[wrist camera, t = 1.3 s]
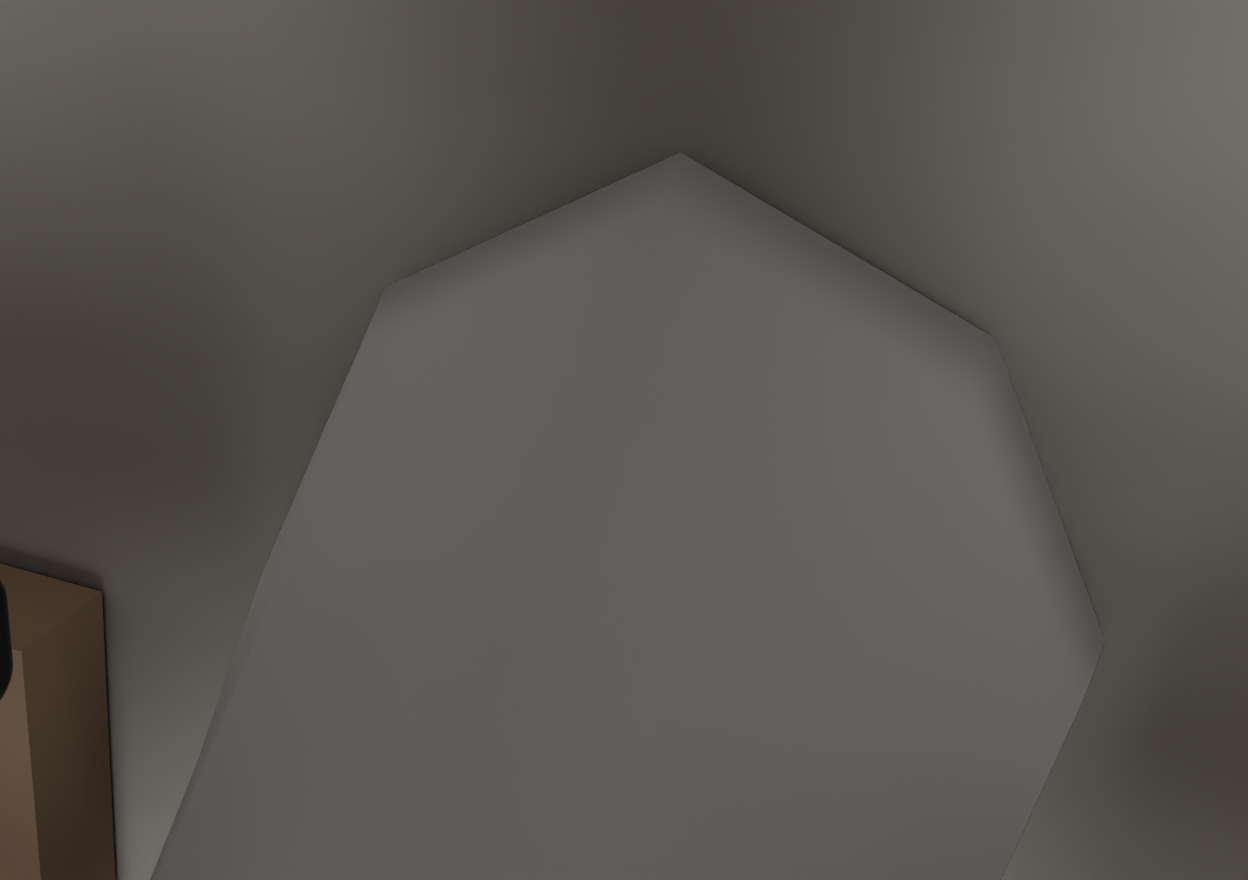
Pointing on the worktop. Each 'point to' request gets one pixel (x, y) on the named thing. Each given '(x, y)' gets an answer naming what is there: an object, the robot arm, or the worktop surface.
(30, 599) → the walnut board
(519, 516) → the flask
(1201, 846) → the worktop surface
